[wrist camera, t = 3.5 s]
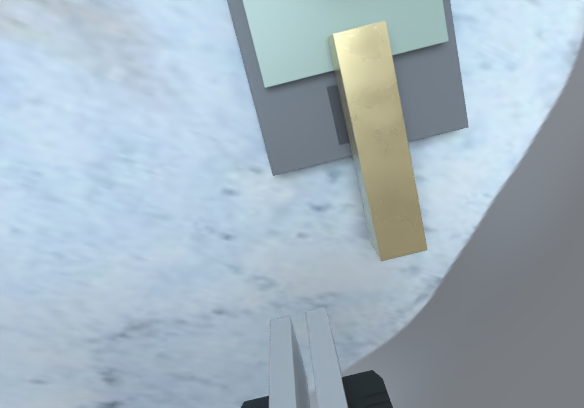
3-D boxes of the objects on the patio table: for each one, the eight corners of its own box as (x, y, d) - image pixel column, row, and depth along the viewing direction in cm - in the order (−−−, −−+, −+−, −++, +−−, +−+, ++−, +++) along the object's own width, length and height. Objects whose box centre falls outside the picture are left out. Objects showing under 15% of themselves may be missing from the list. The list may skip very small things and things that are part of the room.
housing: (273, 167, 37) (273, 176, 34) (196, -125, 32) (188, -146, 29) (453, 122, 37) (469, 127, 34) (406, -181, 31) (420, -208, 28)
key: (367, 236, 35) (381, 261, 31) (324, 39, 32) (332, 34, 27) (407, 227, 35) (427, 249, 31) (369, 27, 32) (385, 20, 27)
